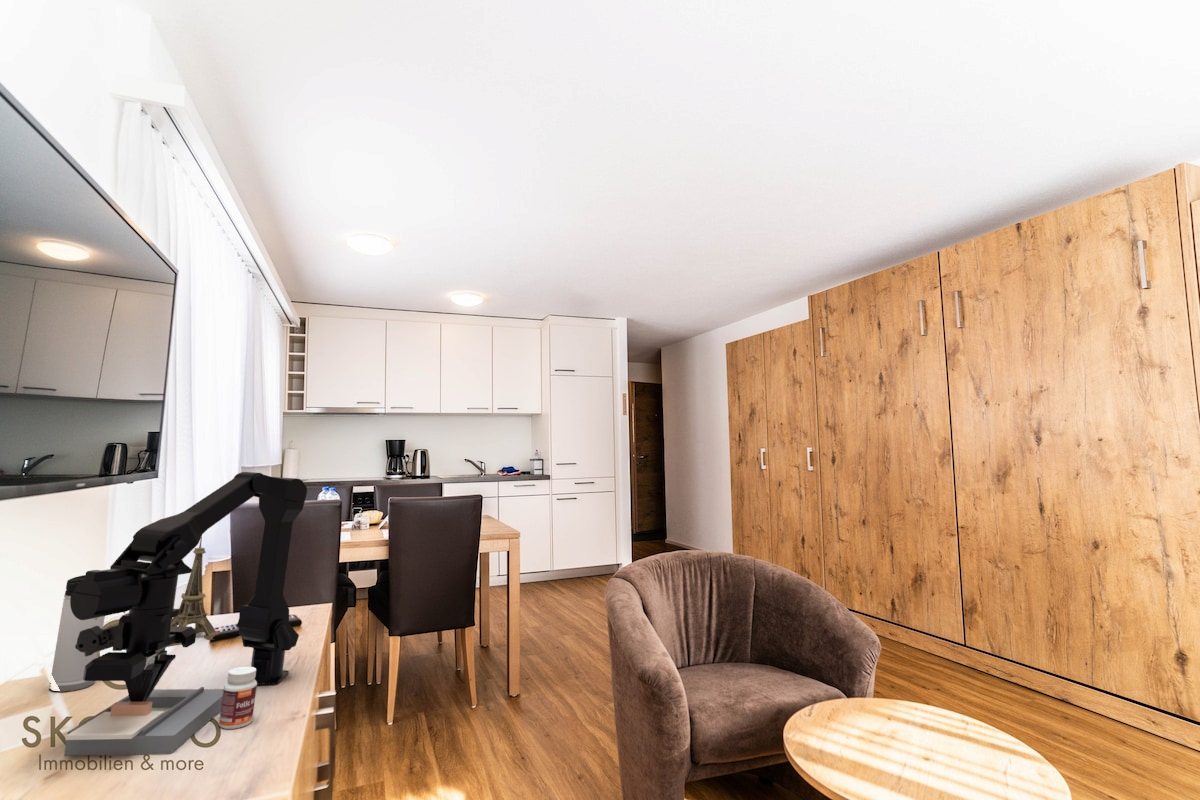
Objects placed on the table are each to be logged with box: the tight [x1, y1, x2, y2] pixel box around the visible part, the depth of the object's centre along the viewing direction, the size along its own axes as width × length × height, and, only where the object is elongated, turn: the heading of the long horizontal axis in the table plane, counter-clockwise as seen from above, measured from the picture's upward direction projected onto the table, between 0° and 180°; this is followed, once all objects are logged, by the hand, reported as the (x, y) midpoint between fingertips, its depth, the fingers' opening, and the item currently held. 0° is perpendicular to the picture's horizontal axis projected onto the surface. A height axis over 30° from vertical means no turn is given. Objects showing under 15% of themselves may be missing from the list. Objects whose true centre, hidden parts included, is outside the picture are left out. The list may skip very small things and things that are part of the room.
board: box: [63, 686, 224, 757], centre depth 92 cm, size 18×14×3 cm
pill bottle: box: [218, 666, 258, 730], centre depth 95 cm, size 5×5×8 cm
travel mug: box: [51, 574, 106, 693], centre depth 107 cm, size 6×7×20 cm
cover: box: [65, 701, 164, 741], centre depth 86 cm, size 8×8×2 cm
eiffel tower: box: [168, 535, 218, 648], centre depth 139 cm, size 11×11×25 cm
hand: (137, 708), depth 90 cm, fingers closed
